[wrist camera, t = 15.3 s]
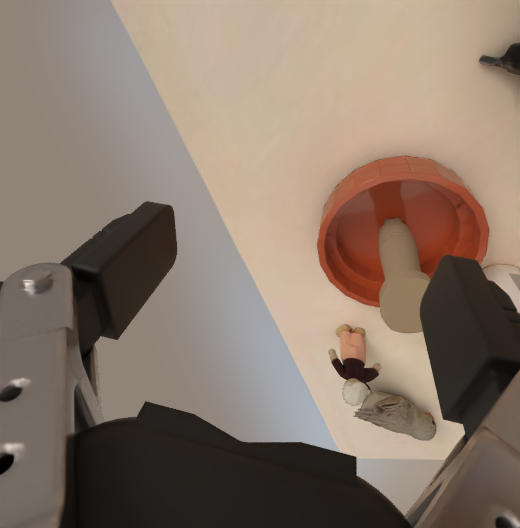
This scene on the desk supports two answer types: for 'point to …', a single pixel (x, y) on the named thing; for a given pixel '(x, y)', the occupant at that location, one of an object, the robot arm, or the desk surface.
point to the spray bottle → (506, 280)
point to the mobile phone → (506, 59)
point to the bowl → (391, 206)
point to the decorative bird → (396, 415)
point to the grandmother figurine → (353, 364)
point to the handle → (400, 278)
